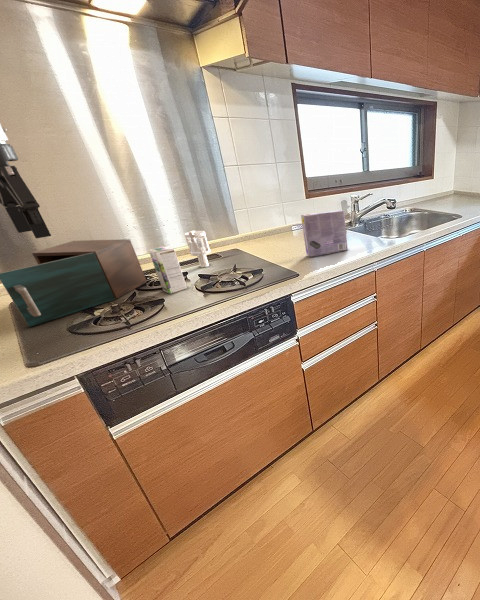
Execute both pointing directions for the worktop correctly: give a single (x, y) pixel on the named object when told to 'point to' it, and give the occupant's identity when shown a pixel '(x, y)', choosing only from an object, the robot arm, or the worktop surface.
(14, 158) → the robot arm
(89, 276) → the cupboard door
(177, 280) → the syrup box
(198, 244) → the white slotted fitting
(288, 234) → the worktop surface
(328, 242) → the purple printed carton
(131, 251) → the cupboard
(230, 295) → the worktop surface
